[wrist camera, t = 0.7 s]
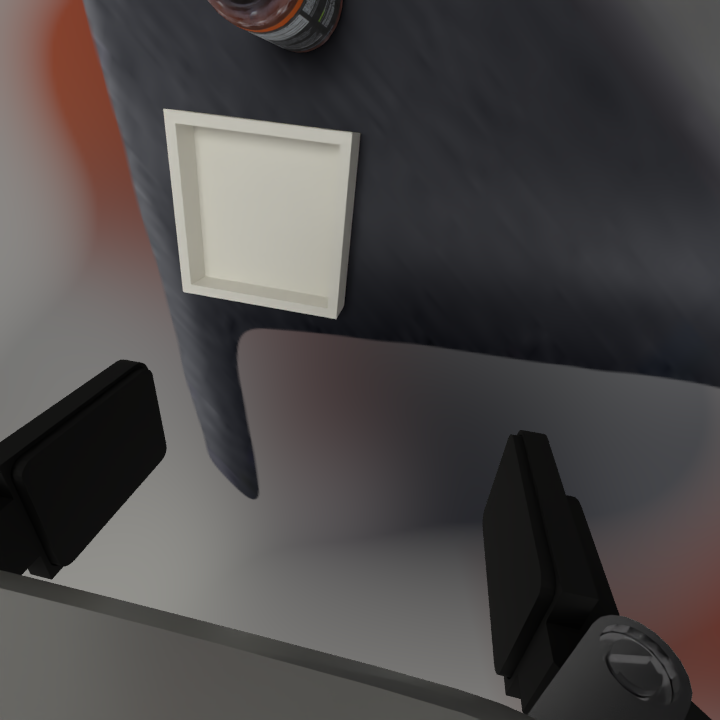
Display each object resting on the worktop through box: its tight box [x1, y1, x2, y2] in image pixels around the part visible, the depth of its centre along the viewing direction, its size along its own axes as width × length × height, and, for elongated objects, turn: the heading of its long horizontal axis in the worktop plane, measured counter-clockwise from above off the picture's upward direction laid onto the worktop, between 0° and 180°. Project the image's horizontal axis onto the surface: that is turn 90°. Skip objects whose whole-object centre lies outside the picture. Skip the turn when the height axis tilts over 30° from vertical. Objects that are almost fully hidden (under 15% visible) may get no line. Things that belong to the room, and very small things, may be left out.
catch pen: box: [163, 109, 361, 319], centre depth 33 cm, size 14×14×3 cm
